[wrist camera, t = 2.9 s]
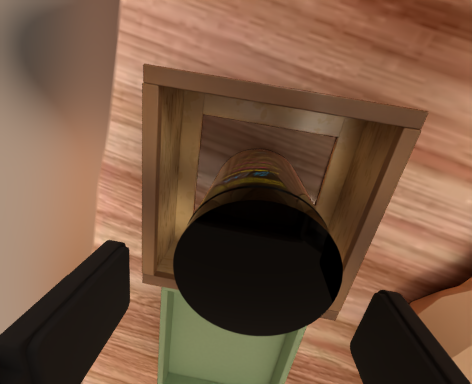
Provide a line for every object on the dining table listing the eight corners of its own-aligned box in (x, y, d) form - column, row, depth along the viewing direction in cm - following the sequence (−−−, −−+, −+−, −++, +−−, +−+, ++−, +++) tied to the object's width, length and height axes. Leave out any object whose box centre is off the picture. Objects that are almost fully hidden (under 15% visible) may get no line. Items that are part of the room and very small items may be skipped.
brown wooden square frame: (175, 74, 16) (142, 63, 12) (380, 109, 16) (430, 111, 11) (166, 244, 22) (141, 283, 17) (319, 273, 21) (336, 321, 17)
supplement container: (200, 172, 19) (138, 246, 9) (274, 129, 17) (295, 164, 7) (242, 235, 21) (227, 352, 11) (312, 202, 19) (370, 307, 9)
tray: (172, 263, 22) (161, 284, 20) (305, 289, 22) (311, 313, 19) (165, 367, 28) (156, 393, 26) (270, 388, 28) (271, 417, 25)
